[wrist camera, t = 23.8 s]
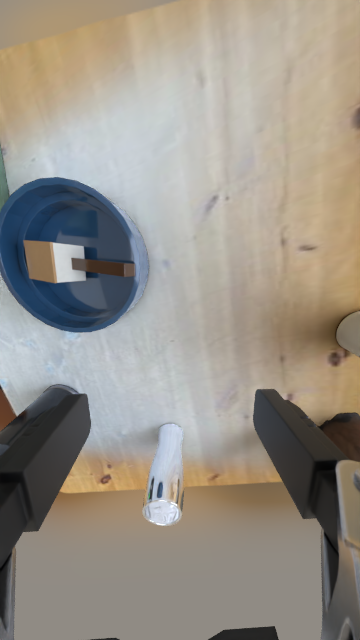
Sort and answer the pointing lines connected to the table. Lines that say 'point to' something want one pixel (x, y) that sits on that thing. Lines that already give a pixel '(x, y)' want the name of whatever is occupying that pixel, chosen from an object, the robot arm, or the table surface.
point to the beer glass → (165, 479)
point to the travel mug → (350, 333)
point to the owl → (345, 434)
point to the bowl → (74, 229)
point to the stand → (3, 183)
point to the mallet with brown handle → (68, 263)
